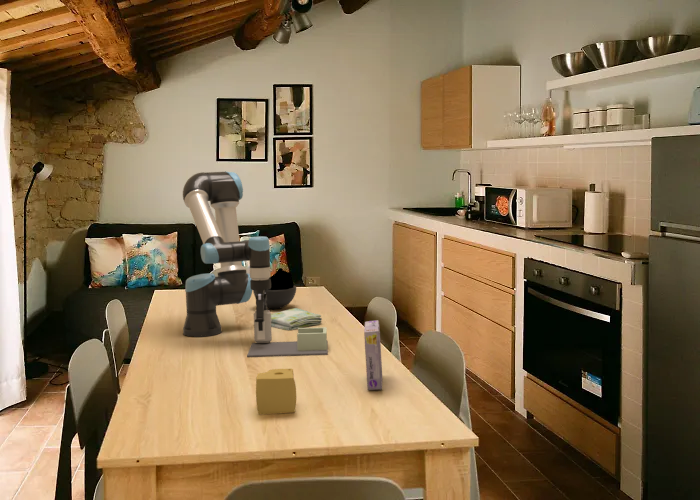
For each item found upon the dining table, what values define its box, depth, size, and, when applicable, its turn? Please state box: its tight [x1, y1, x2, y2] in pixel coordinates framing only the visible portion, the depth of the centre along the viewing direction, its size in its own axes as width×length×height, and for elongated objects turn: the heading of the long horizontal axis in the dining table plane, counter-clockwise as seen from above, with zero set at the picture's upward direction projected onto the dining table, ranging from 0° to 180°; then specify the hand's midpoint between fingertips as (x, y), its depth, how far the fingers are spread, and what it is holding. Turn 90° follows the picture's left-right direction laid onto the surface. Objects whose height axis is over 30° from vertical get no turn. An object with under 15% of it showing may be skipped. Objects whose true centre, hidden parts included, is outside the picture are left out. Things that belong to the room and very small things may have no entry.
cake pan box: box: [363, 319, 383, 391], centre depth 241 cm, size 19×5×18 cm, turn 178°
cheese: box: [255, 368, 297, 416], centre depth 218 cm, size 10×11×10 cm
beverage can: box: [253, 309, 273, 343], centre depth 297 cm, size 6×6×12 cm
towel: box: [271, 307, 323, 331], centre depth 333 cm, size 18×21×5 cm
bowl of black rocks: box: [252, 267, 297, 310], centre depth 369 cm, size 20×20×19 cm
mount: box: [246, 326, 329, 358], centre depth 287 cm, size 20×28×7 cm
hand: (262, 335), depth 296 cm, fingers open, 13 cm apart
